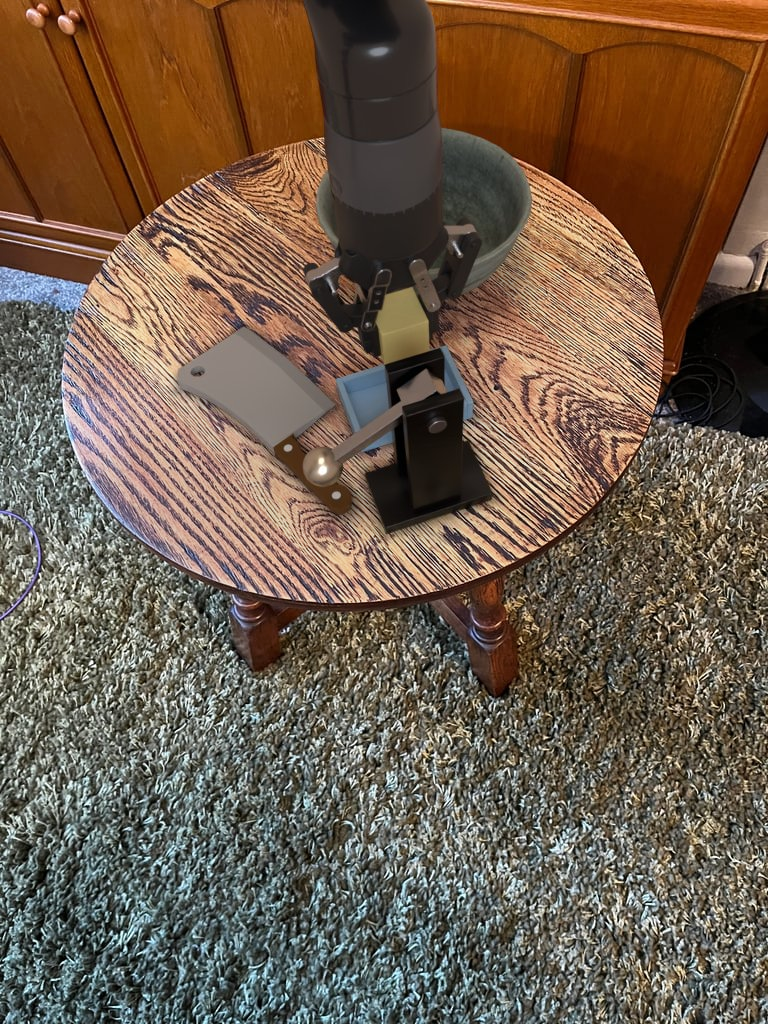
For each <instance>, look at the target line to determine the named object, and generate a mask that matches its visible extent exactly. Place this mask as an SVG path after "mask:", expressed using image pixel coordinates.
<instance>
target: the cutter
mask: <svg viewBox="0 0 768 1024" xmlns="http://www.w3.org/2000/svg"><path fill="white" fill-rule="evenodd" d="M436 348H437V349H435V348H433V349H434V350H432V349H430V350H431V351H427V352H424V353H421V354H418V355H414V356H411V357H408V358H404V359H401V360H398V361H395V362H391V363H388V364H385V365H384V367H385V376H386V385H387V394H388V403H389V409H390V408H391V407H393V406H394V405H396V404H397V403H399V402H400V401H401V399H400V397H399V394H398V392H397V389H398V388H399V387H401V386H402V385H404V384H405V383H406V382H408V381H409V380H411V379H412V378H413V377H415V376H416V375H418V374H419V373H420V372H422V371H423V370H425V369H428V370H429V371H430V372H432V373H433V374H434V375H435V376H437V377H438V378H439V379H440V380H442V382H443V384H444V386H445V356H444V354H443V352H442V350H441V348H438V347H436ZM402 414H403V423H401V424H400V425H398V426H397V427H395V428H394V429H393V430H392V439H393V443H392V447H393V455H394V456H393V457H394V463H392V464H388V465H386V466H382V467H379V468H376V469H373V470H370V471H367V472H364V478H365V482H366V485H367V487H368V490H369V492H370V493H369V494H370V496H371V498H372V502H373V503H374V507H375V509H376V511H377V514H378V517H379V520H380V522H381V525H382V528H383V531H384V533H385V534H386V535H388V534H391V533H395V532H398V531H400V530H404V529H406V528H410V527H413V526H416V525H419V524H422V523H425V522H428V521H431V520H434V519H438V518H440V517H443V516H447V515H450V514H453V513H456V512H458V511H462V510H464V509H468V508H471V507H475V506H477V505H481V504H483V503H486V502H490V501H492V500H493V495H494V493H493V491H492V488H491V486H490V484H489V482H488V480H487V477H486V475H485V473H484V471H483V469H482V467H481V464H480V462H479V460H478V458H477V455H476V453H475V452H474V449H473V447H472V445H471V443H470V441H469V439H468V440H467V439H466V440H464V420H463V418H464V397H463V395H462V393H461V390H460V389H456V390H453V391H450V392H446V393H443V394H440V395H437V396H433V397H430V398H427V399H424V400H421V401H417V402H414V403H411V404H408V405H404V406H402Z"/></svg>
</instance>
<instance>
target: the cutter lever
mask: <svg viewBox="0 0 768 1024" xmlns="http://www.w3.org/2000/svg"><path fill="white" fill-rule="evenodd" d="M397 392H398V394H399V397H400V399H401V401H400V402H399V403H397V404H396V405H394V406H393V407H391V408H390V409H389V410H387V411H386V412H384V413H383V414H382V415H380V416H379V417H377V418H376V419H374V420H373V421H372V422H370V423H369V424H367V425H366V426H365V427H363V428H362V429H360V430H359V431H357V432H356V433H355V434H353V433H352V435H350V436H349V437H347V438H345V439H344V440H343V441H341V442H340V443H339V444H337V445H336V446H335V447H333V448H332V447H329V446H323V445H322V446H317V447H313V448H312V449H311V450H309V451H308V452H307V453H306V454H305V455H306V456H305V458H304V461H303V472H304V475H305V477H306V478H307V480H308V481H309V482H310V483H312V484H313V485H316V486H319V487H327V486H331V485H333V484H334V483H336V484H337V482H338V481H339V480H340V479H341V477H342V475H343V472H344V464H345V463H347V462H348V461H349V460H350V459H352V458H354V457H355V456H356V455H358V454H359V453H360V452H361V451H362V450H364V449H365V448H366V447H368V446H369V445H371V444H372V443H374V442H375V441H377V440H378V439H380V438H381V437H382V436H384V435H385V434H387V433H388V432H390V431H391V430H393V429H394V428H395V427H397V426H398V425H400V424H401V423H403V414H402V406H404V405H408V404H411V403H414V402H417V401H421V400H424V399H427V398H430V397H433V396H437V395H440V394H443V393H446V392H447V391H446V388H445V386H444V384H443V382H442V380H440V379H439V378H438V377H437V376H435V375H434V374H433V373H432V372H430V371H429V370H428V369H425V370H423V371H422V372H420V373H419V374H418V375H416V376H415V377H413V378H412V379H411V380H409V381H408V382H406V383H405V384H404V385H402V386H401V387H399V388H398V389H397ZM361 453H362V452H361Z"/></svg>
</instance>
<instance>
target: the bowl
mask: <svg viewBox="0 0 768 1024" xmlns="http://www.w3.org/2000/svg"><path fill="white" fill-rule="evenodd" d="M441 131H442V147H443V150H444V161H443V165H442V195H443V224H444V226H456V223H457V222H458V221H459V220H460V219H461V218H464V217H467V218H469V219H470V221H471V222H472V224H473V226H474V228H475V230H476V231H477V233H478V235H479V237H480V239H481V240H482V245H481V248H480V250H479V253H478V255H477V258H476V260H475V262H474V265H473V267H472V270H471V272H470V275H469V277H468V280H467V282H466V284H465V287H464V289H463V292H462V294H461V296H462V295H464V294H466V293H469V292H471V291H473V290H475V289H477V288H479V287H480V286H481V285H482V284H484V283H485V282H486V281H487V280H488V279H490V278H491V277H492V276H493V274H495V272H496V271H497V270H498V269H499V268H500V267H501V266H502V264H503V263H504V262H505V261H506V260H507V257H508V256H509V254H510V253H511V251H512V249H513V247H514V246H515V244H516V242H517V240H518V238H519V235H520V234H521V233H522V232H523V230H524V228H525V227H526V224H527V222H528V220H529V219H530V216H531V212H532V205H533V196H532V191H531V187H530V186H531V185H530V182H529V180H528V178H527V176H526V173H525V171H524V169H523V168H522V167H521V166H520V164H519V163H518V161H517V160H516V159H515V158H514V157H513V156H512V155H511V154H509V153H508V152H507V151H506V150H504V149H503V148H502V147H501V146H498V145H497V144H495V143H493V142H491V141H489V140H487V139H484V138H482V137H480V136H477V135H474V134H471V133H468V132H465V131H462V130H455V129H450V128H445V127H441ZM317 187H318V188H317V190H316V199H315V212H316V216H317V221H318V223H319V224H318V225H319V226H320V227H321V229H322V230H323V232H324V235H326V238H327V240H329V242H330V244H331V247H332V249H333V250H334V251H335V250H336V247H337V245H338V241H339V237H338V231H337V224H336V218H335V212H334V205H333V199H332V193H331V187H330V181H329V174H328V169H326V171H325V172H324V173H323V175H322V176H321V180H320V182H319V185H318V186H317ZM446 250H447V246H446V247H445V248H444V250H443V251H442V252H441V254H440V255H439V257H438V258H437V260H436V261H435V262H434V264H433V265H432V267H431V268H430V270H429V271H428V273H429V275H430V277H431V280H434V279H435V278H437V277H438V272H439V269H440V267H441V264H442V261H443V258H444V256H445V253H446ZM412 287H413V289H414V291H415V293H416V295H418V294H419V292H418V290H417V287H416V285H415V286H412ZM408 288H410V287H408ZM404 289H407V288H399V289H396V290H394V291H392V292H391V293H394V292H397V291H400V290H404ZM388 294H390V293H388ZM386 295H387V294H386ZM448 300H450V299H449V298H448V299H446V300H445V301H448Z"/></svg>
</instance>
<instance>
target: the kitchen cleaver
mask: <svg viewBox="0 0 768 1024" xmlns="http://www.w3.org/2000/svg"><path fill="white" fill-rule="evenodd" d="M199 372H202V373H203V374H201V375H200V376H195V375H196V374H197V373H199ZM177 384H178V386H179V388H180V390H183V391H186V392H189V393H190V394H193V395H196V396H198V397H201V398H203V399H204V400H206V401H208V402H209V403H211V404H213V405H214V406H216V407H218V408H220V409H221V410H222V411H225V412H226V413H227V414H228V415H230V416H231V417H232V418H234V419H235V420H236V421H237V422H239V423H240V424H241V425H242V426H244V427H245V428H246V429H247V430H248V431H249V432H250V433H251V434H252V435H254V436H255V437H256V438H257V440H259V441H260V442H261V443H262V444H263V445H264V446H265V447H267V449H269V450H270V451H271V452H272V453H273V454H274V456H275V457H276V458H277V459H278V460H279V461H280V462H281V463H282V464H283V465H284V466H285V467H286V468H287V469H288V470H289V471H290V472H291V473H292V474H293V475H294V476H295V477H296V478H297V479H298V480H299V481H300V482H301V483H302V484H303V485H304V486H305V487H306V488H307V489H308V490H309V491H310V492H311V493H312V494H313V495H314V496H315V497H317V499H318V500H319V501H320V502H321V503H322V504H324V506H325V507H326V508H327V509H328V510H329V511H330V512H332V513H333V514H335V515H337V516H343V515H345V514H347V513H348V512H349V511H351V509H352V507H353V493H352V492H351V490H349V489H348V488H347V487H346V486H345V485H342V484H339V483H337V482H336V483H334V484H333V485H331V486H327V487H319V486H316V485H313V484H312V483H310V482H309V481H308V480H307V478H306V477H305V475H304V472H303V461H304V458H305V456H306V455H307V454H305V453H304V451H303V450H302V447H301V444H300V442H299V441H298V440H296V439H298V438H299V436H301V435H302V434H303V433H305V431H307V430H308V429H309V428H310V427H311V426H312V425H313V424H315V423H316V422H317V421H318V420H319V419H321V418H322V417H323V416H324V415H325V414H327V413H328V412H329V411H330V410H332V409H333V408H335V407H336V403H335V402H334V401H332V399H331V398H330V397H328V396H327V395H326V394H325V393H324V392H323V390H322V389H320V388H319V387H318V386H317V384H315V383H314V382H313V381H312V380H311V379H310V378H309V377H308V376H307V375H306V374H305V373H304V372H303V371H301V370H300V368H298V367H297V366H296V365H295V364H294V363H293V362H292V361H291V360H290V359H289V358H288V357H286V356H285V355H283V354H282V353H281V352H280V351H279V350H278V349H276V348H274V347H273V346H272V345H271V344H269V343H268V342H266V341H265V340H264V339H262V338H261V337H260V336H259V335H258V334H256V333H255V332H253V331H252V330H251V329H250V328H248V327H245V326H242V327H240V328H239V329H238V330H236V331H235V332H234V333H232V334H231V335H229V336H227V337H226V338H224V339H223V340H221V341H219V342H218V343H217V344H215V345H213V346H212V347H210V348H209V349H208V350H205V351H204V352H203V353H201V354H200V355H198V356H197V357H195V358H193V359H192V360H190V361H189V362H188V363H186V364H184V365H183V366H182V367H180V368H178V369H177Z"/></svg>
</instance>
